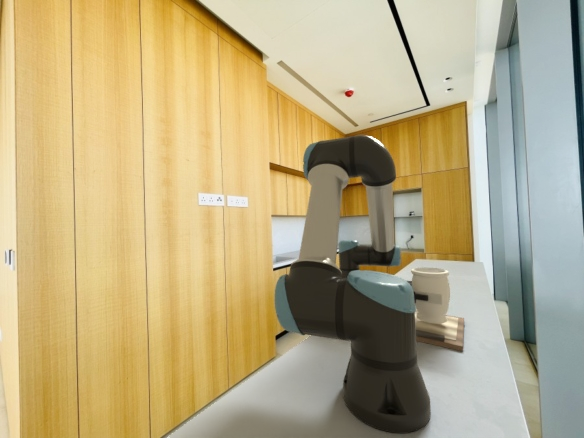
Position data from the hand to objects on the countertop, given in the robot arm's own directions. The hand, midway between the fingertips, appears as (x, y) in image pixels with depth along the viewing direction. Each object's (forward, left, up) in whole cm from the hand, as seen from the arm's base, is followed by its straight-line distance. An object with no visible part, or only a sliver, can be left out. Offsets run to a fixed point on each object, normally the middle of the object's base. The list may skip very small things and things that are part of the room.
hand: (445, 294), depth 73 cm
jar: (-1, +4, -8) cm, 9 cm away
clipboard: (-1, +4, -11) cm, 12 cm away
